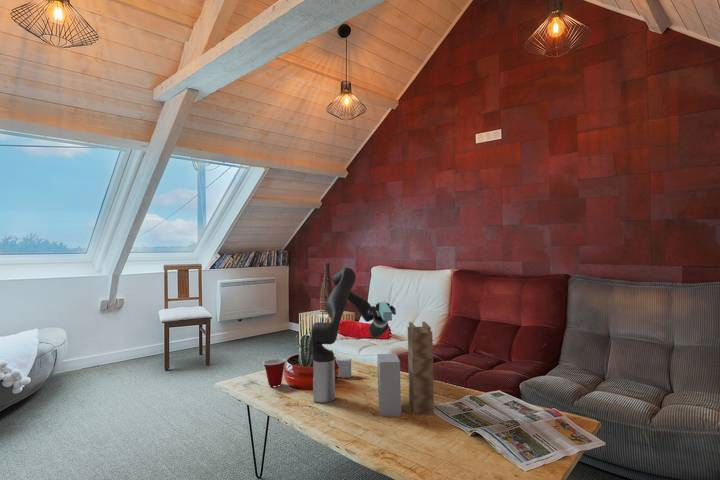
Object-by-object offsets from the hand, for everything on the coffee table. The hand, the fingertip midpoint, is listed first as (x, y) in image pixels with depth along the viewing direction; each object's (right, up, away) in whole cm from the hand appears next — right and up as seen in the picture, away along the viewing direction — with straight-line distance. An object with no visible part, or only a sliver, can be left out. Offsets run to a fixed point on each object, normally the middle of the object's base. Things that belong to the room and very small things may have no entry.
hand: (383, 304), depth 189 cm
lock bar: (0, -3, -7) cm, 8 cm away
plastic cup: (-52, -41, +13) cm, 67 cm away
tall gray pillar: (+1, -39, -20) cm, 44 cm away
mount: (+14, -39, -19) cm, 46 cm away
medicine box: (-19, -40, +24) cm, 51 cm away
